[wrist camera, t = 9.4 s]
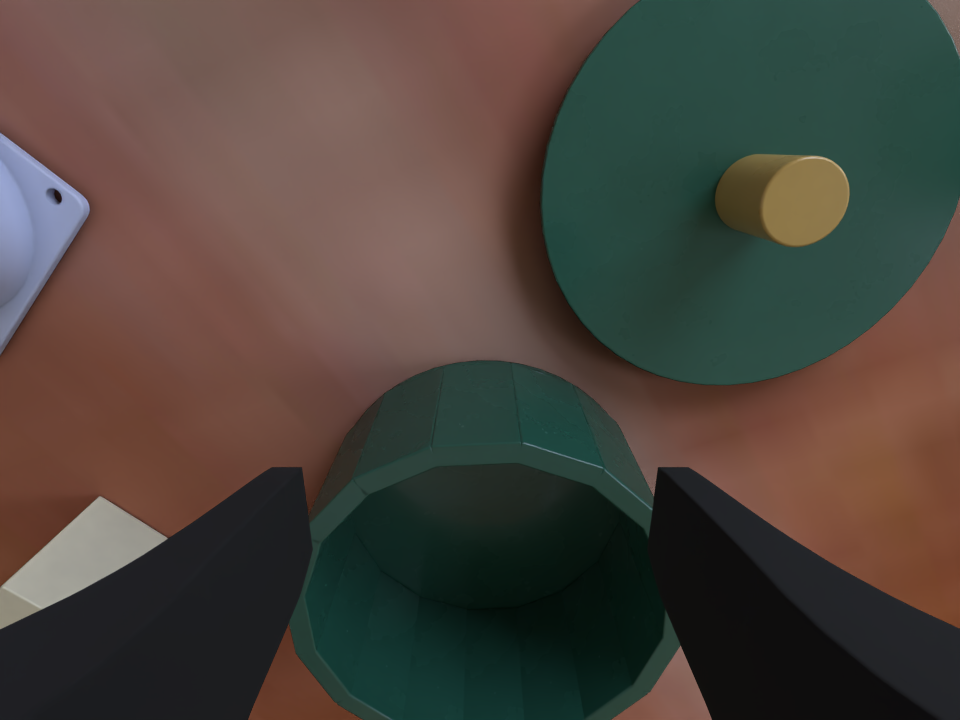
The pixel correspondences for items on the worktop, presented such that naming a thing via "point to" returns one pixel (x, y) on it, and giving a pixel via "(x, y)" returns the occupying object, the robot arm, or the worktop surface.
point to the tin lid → (751, 179)
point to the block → (76, 559)
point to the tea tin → (483, 556)
